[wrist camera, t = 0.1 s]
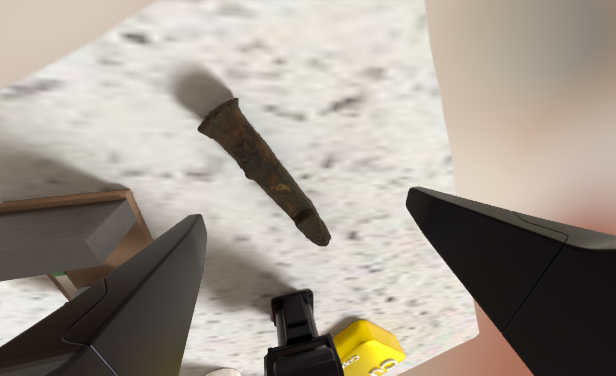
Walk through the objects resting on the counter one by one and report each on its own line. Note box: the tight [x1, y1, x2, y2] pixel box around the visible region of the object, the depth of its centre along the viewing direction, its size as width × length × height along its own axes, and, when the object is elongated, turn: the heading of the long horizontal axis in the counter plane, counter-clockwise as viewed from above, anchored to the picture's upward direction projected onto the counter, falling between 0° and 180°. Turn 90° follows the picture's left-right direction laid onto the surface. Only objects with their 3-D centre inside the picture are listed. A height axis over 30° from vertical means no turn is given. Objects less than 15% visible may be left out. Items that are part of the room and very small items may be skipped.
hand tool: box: [198, 98, 331, 247], centre depth 23 cm, size 19×4×5 cm, turn 31°
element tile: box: [332, 320, 405, 376], centre depth 44 cm, size 15×15×5 cm
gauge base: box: [0, 189, 153, 301], centre depth 25 cm, size 20×10×1 cm, turn 1°
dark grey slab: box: [0, 199, 137, 281], centre depth 18 cm, size 2×10×6 cm, turn 91°
